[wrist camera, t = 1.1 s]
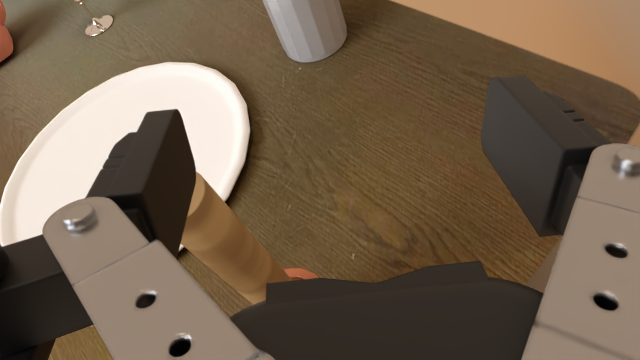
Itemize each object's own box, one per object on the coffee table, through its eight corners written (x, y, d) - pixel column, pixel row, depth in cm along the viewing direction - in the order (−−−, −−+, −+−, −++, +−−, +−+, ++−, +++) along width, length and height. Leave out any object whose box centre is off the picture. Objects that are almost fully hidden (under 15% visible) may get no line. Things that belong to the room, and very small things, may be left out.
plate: (301, 86, 49) (298, 77, 48) (142, 351, 37) (133, 347, 36) (116, 55, 62) (110, 48, 61) (-46, 244, 50) (-56, 239, 49)
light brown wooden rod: (335, 312, 34) (211, 153, 18) (343, 353, 32) (213, 218, 16) (297, 322, 34) (141, 175, 18) (303, 364, 33) (136, 241, 17)
